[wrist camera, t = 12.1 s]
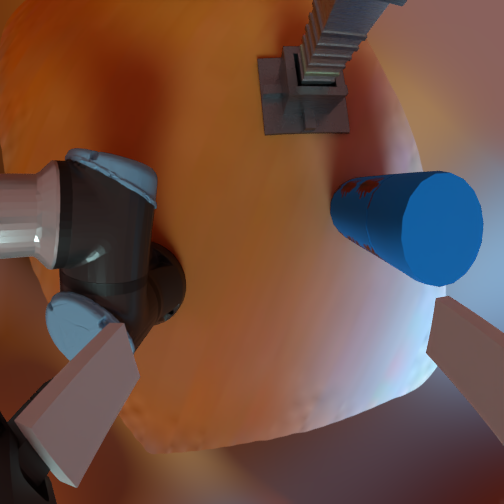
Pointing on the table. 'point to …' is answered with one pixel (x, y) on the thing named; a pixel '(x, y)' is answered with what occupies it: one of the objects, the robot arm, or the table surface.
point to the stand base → (299, 99)
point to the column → (335, 37)
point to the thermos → (413, 222)
